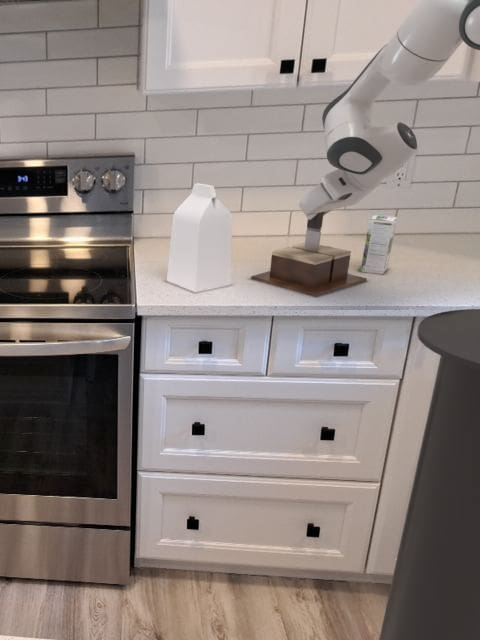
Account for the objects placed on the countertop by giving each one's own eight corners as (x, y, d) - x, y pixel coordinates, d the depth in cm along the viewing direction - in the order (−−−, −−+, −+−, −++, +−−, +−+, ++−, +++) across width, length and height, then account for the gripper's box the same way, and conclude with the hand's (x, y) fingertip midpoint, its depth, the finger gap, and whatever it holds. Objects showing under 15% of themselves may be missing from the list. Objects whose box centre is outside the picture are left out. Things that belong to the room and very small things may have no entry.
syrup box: (364, 266, 191) (372, 214, 185) (388, 269, 187) (397, 216, 182) (360, 272, 187) (368, 218, 181) (384, 275, 183) (393, 220, 177)
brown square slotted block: (366, 281, 179) (371, 251, 176) (315, 297, 170) (320, 266, 167) (299, 266, 195) (303, 238, 192) (250, 279, 186) (253, 250, 183)
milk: (166, 281, 188) (170, 184, 177) (200, 274, 192) (206, 179, 182) (195, 293, 178) (201, 191, 167) (230, 285, 182) (238, 185, 171)
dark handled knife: (319, 258, 179) (327, 200, 173) (314, 259, 178) (321, 201, 172) (306, 255, 182) (313, 198, 176) (301, 256, 181) (307, 199, 175)
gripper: (373, 165, 170) (332, 200, 182) (320, 176, 161) (280, 212, 172) (388, 186, 168) (346, 219, 180) (334, 197, 159) (293, 232, 171)
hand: (313, 216), depth 176 cm, fingers closed on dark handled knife, 2 cm apart
